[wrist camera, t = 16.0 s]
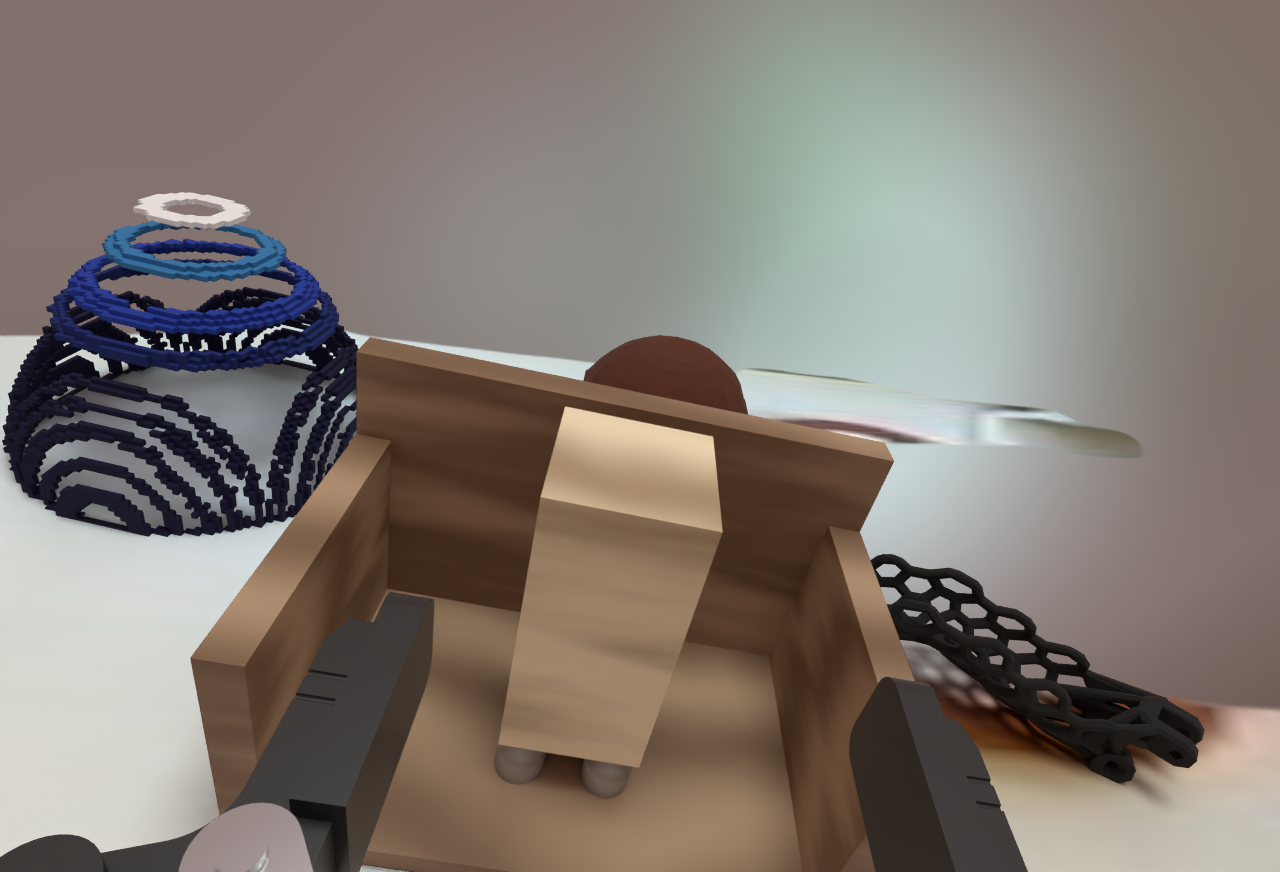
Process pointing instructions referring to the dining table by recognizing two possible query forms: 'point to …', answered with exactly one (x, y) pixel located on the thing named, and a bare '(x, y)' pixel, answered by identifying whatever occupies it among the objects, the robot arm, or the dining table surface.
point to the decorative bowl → (204, 323)
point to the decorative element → (1099, 720)
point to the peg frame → (489, 618)
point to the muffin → (670, 372)
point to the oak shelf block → (610, 585)
